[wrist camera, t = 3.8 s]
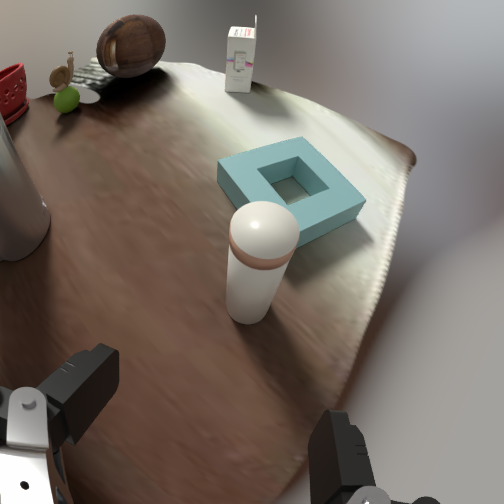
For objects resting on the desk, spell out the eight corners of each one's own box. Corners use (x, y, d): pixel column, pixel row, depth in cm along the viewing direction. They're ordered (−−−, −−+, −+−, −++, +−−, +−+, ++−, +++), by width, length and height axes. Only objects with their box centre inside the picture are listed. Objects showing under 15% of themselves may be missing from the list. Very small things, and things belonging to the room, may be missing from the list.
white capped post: (239, 332, 25) (253, 270, 15) (217, 295, 27) (217, 215, 17) (277, 311, 27) (314, 240, 17) (254, 277, 28) (275, 192, 18)
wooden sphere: (142, 59, 56) (138, 7, 43) (180, 69, 52) (180, 9, 40) (90, 82, 49) (81, 26, 36) (123, 95, 45) (114, 26, 33)
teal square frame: (273, 259, 30) (279, 240, 27) (217, 181, 35) (217, 160, 32) (355, 218, 34) (366, 199, 31) (296, 155, 39) (302, 136, 36)
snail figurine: (90, 101, 44) (80, 49, 34) (68, 119, 41) (53, 65, 31) (74, 100, 45) (63, 51, 35) (52, 117, 41) (38, 66, 31)
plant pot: (21, 124, 40) (5, 79, 30) (-18, 140, 38) (-36, 100, 28) (42, 95, 47) (31, 55, 37) (3, 110, 44) (-9, 73, 34)
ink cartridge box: (226, 75, 52) (231, 12, 39) (250, 76, 52) (258, 14, 40) (223, 92, 47) (228, 20, 35) (250, 94, 48) (259, 22, 35)
